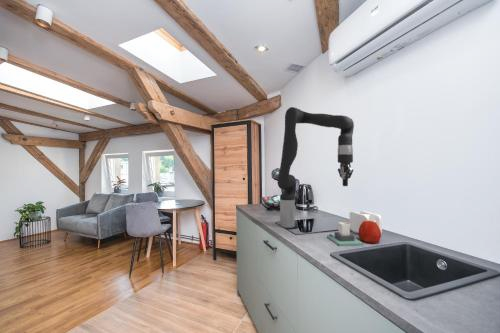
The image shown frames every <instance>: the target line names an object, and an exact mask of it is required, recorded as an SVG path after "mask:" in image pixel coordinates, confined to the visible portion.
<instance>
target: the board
mask: <svg viewBox="0 0 500 333" xmlns="http://www.w3.org/2000/svg"><path fill="white" fill-rule="evenodd" d="M326 235H327V236H326V237H327V238H328V239H329V240H331V241H332V242H333V243H334V244H336V245H337V246H339V247H349V246H352V247H353V246H364V242H362V240H359V239H357V238H355V235H353V234H352V233H350V236H341V235H340V234H338V231H335V232H334V234H331V233H329V234H326Z"/></svg>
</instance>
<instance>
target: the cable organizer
mask: <svg viewBox="0 0 500 333" xmlns="http://www.w3.org/2000/svg"><path fill="white" fill-rule="evenodd" d="M363 221H374V222H375V223H376V224H377V225H378V226H379V228H380V230H381V235H382V233H383V218H382V216H381V215H380V214H379V213H378V214H377V213H374V212H370V211H367V210H362V211H360V213H359V212H356V211H350V212H349V224H350V231H352V232H353V233H355V234H358V232H359V227H360V225H361V224H362V222H363Z"/></svg>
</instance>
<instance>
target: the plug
mask: <svg viewBox="0 0 500 333" xmlns="http://www.w3.org/2000/svg"><path fill="white" fill-rule="evenodd" d="M337 225H338V226H337V229H338V231H337V232H338V234H340V235H341V236H350V234H351V232H350V231H351V229H350V222H347V221H339V222H338V223H337Z"/></svg>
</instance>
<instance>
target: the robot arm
mask: <svg viewBox="0 0 500 333" xmlns="http://www.w3.org/2000/svg"><path fill="white" fill-rule="evenodd" d="M297 124H310V125H314V126H317V127H318V126H319V127H325V128H334V129H339V130H340V133H339V136H338V137H337V138H338V139H337V142H338V143H337V163H338V164H340V165H339V168H337V173H338V175H339V177H340V179H341V180H342V187H348V186H349V180H350V178H351V177H352V175H353V172H354V168H352V165H351V163H353V162H354V151H353V150H354V149H353V134H354V127H355V123H354V120H353V119H352V118H351V117H349V116H347V115H343V114H342V115H341V114H340V115H338V114H337V115H336V114H335V115H334V114H328V113H311V112H306V111H303V110H301V109H300V108H297V107H293V106H292V107H289V108H287V110H286V111H285V115H284V133H283V143H282V150H281V151H282V152H281V160H280V167H279V171H278V175H277V186H278V188H279V189H281V190H283V192H282V193H281V194H280V195H279V209H280V210H279V212H280V213H279V214H280V215H279V218H280V223H279V226H280V228H288V229H291V228H294V227H295V226H296V224H295V223H296V222H295V220H296V217H295V216H296V213H295V212H296V211H295V210H296V208H295V204H296V203H295V201H296V200H295V199H296V198H295V197H296V194H297V192H296V191H297V179H296V177H295V175H293V174H290V172H291V171H290V170H291V168H292V165H293V163H294V161H295V160H296V158H297V155H298V147H299V145H298V139H297V133H296V129H297V128H296V126H297Z"/></svg>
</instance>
